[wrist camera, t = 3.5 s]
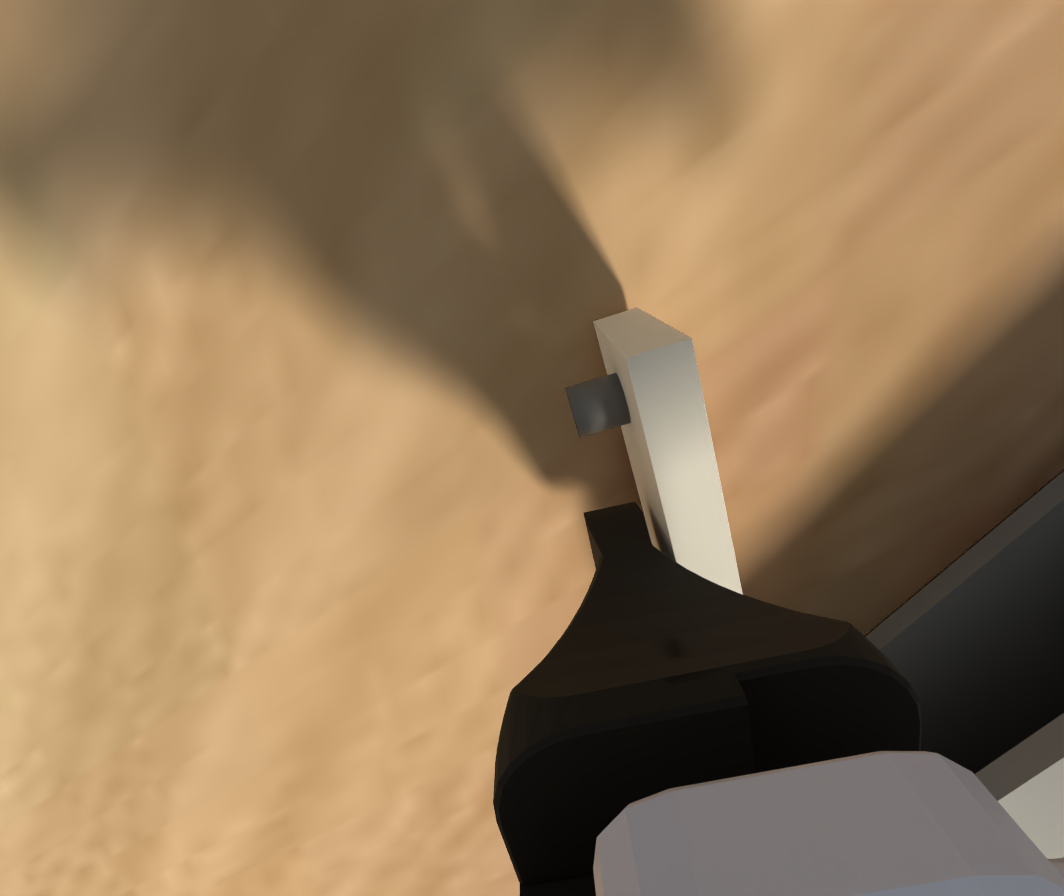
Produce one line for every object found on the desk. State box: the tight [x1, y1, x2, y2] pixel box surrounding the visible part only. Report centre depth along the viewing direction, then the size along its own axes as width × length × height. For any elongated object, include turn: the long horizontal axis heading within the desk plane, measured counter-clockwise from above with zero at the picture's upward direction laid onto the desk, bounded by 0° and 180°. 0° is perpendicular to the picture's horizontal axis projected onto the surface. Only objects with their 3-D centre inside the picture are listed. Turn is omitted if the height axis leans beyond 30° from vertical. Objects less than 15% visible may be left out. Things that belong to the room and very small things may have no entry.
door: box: [565, 308, 743, 595], centre depth 12 cm, size 14×2×4 cm, turn 17°
